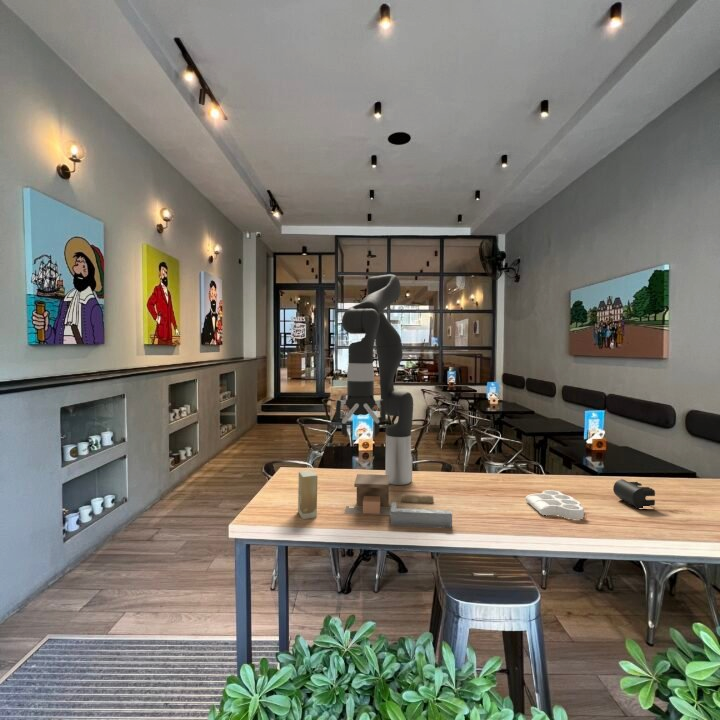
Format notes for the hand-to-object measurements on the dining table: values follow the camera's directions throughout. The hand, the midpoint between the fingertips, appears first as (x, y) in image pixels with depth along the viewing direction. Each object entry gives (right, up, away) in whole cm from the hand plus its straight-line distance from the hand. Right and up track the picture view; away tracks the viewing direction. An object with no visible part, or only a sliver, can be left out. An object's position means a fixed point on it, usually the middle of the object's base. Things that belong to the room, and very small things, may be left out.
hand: (360, 436), depth 122 cm
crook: (+17, -24, -2) cm, 29 cm away
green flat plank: (+8, -23, +5) cm, 25 cm away
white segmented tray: (+60, -24, +9) cm, 65 cm away
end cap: (+86, -24, +13) cm, 90 cm away
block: (+3, -23, +6) cm, 24 cm away
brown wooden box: (+4, -23, +8) cm, 25 cm away
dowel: (+18, -24, +14) cm, 33 cm away
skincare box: (-15, -23, +2) cm, 28 cm away
